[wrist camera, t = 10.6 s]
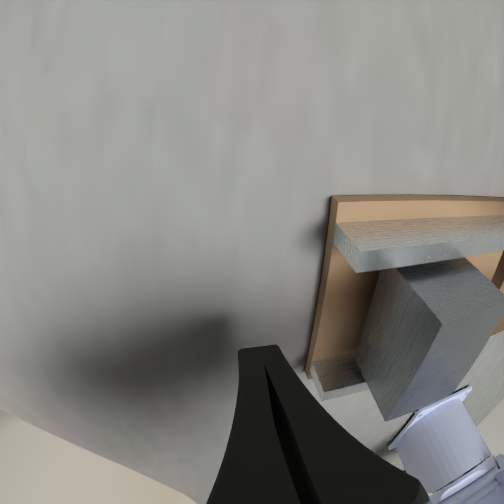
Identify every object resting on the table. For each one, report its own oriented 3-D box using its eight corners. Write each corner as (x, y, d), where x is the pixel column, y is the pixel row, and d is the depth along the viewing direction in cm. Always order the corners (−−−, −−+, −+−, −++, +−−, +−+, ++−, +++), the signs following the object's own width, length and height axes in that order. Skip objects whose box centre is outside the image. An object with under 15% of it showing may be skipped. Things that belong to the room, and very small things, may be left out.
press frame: (520, 311, 20) (536, 329, 18) (302, 380, 17) (315, 417, 14) (567, 190, 13) (590, 205, 11) (334, 169, 10) (369, 196, 8)
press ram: (423, 338, 15) (458, 391, 12) (353, 357, 14) (385, 421, 11) (461, 246, 12) (516, 297, 8) (383, 255, 11) (442, 324, 8)
